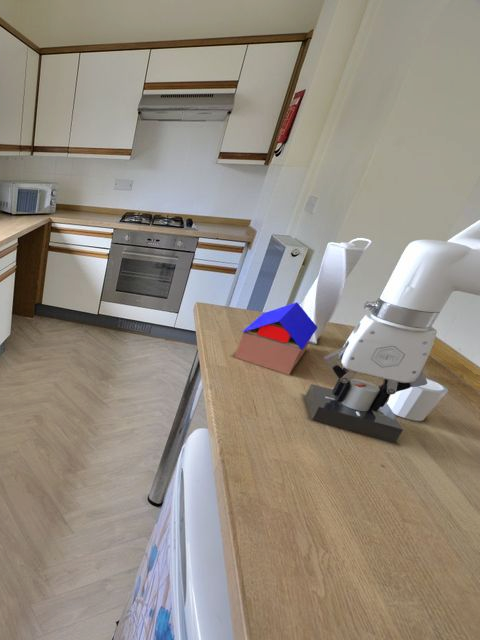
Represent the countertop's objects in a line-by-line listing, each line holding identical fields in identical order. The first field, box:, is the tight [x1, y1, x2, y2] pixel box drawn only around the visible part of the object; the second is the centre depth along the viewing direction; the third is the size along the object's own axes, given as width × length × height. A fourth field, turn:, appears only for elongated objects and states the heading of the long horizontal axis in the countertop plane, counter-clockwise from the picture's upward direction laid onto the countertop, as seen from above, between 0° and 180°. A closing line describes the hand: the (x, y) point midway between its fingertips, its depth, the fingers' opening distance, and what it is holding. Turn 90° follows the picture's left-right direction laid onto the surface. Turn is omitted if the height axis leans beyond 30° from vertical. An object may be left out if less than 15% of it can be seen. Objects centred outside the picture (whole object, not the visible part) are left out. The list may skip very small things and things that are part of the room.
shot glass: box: [386, 378, 449, 422], centre depth 80 cm, size 7×7×7 cm
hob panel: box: [305, 383, 404, 444], centre depth 79 cm, size 12×10×3 cm
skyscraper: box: [299, 237, 373, 345], centre depth 108 cm, size 8×8×28 cm
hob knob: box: [341, 378, 380, 411], centre depth 77 cm, size 4×4×5 cm
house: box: [234, 301, 318, 376], centre depth 101 cm, size 12×20×12 cm, turn 134°
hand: (354, 402), depth 78 cm, fingers closed on hob knob, 4 cm apart
